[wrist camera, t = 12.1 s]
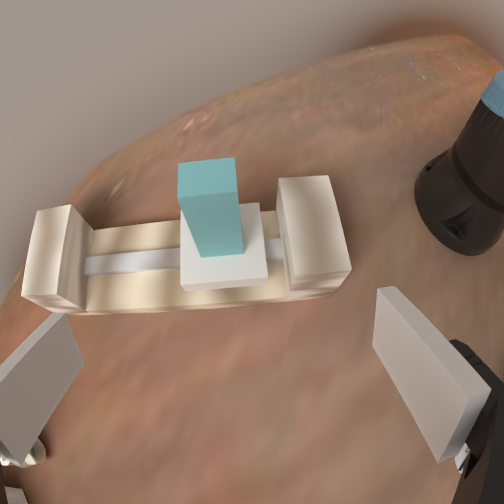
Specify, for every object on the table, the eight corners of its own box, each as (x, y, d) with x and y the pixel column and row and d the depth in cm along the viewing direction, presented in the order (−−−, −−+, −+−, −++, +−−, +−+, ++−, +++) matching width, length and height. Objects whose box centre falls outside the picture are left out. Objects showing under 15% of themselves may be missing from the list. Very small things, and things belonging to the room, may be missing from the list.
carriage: (259, 216, 34) (259, 131, 23) (267, 287, 31) (273, 221, 19) (186, 223, 34) (155, 142, 22) (187, 294, 31) (145, 234, 19)
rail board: (315, 213, 37) (327, 172, 30) (331, 296, 33) (351, 269, 26) (69, 238, 37) (38, 208, 29) (60, 315, 32) (21, 295, 25)
